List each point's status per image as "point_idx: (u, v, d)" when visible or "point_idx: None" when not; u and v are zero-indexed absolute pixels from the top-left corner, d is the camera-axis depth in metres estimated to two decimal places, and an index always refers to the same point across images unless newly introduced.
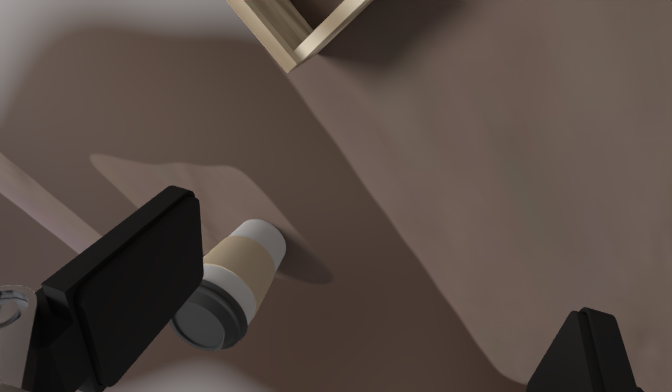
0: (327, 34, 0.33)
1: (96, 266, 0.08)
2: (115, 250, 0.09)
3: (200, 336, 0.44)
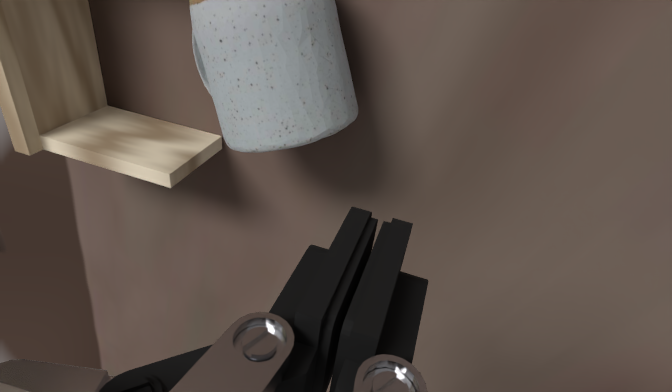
0: (81, 159, 0.28)
1: (333, 293, 0.08)
2: (340, 275, 0.09)
3: None
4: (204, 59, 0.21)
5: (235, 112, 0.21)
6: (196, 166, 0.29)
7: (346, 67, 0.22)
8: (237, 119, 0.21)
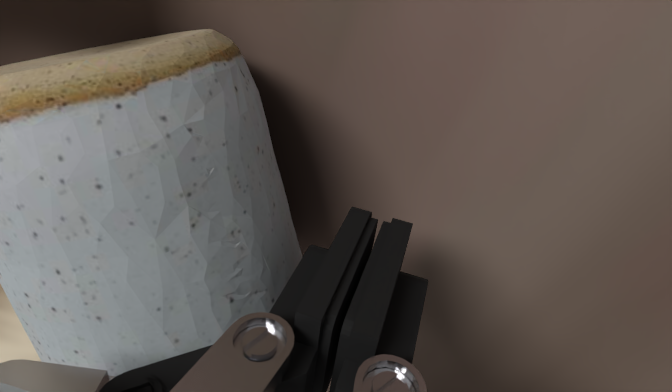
0: None
1: (333, 293, 0.08)
2: (340, 275, 0.09)
3: None
4: None
5: (36, 342, 0.10)
6: None
7: (280, 234, 0.11)
8: (42, 354, 0.10)
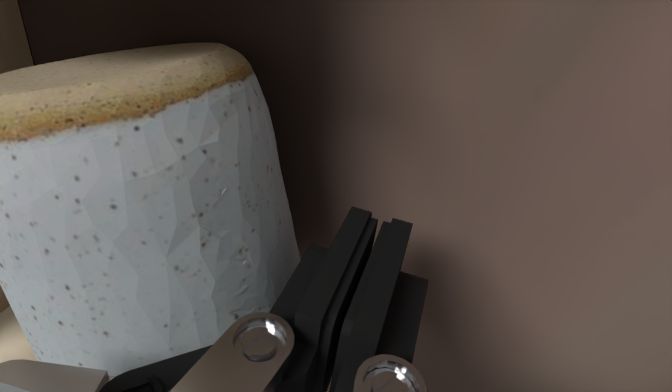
0: None
1: (333, 293, 0.08)
2: (340, 275, 0.09)
3: None
4: None
5: (39, 352, 0.10)
6: None
7: (285, 250, 0.12)
8: None
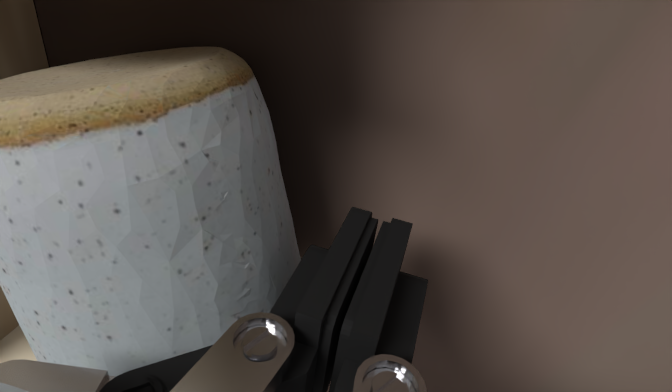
0: None
1: (334, 293, 0.08)
2: (340, 275, 0.09)
3: None
4: None
5: (42, 357, 0.10)
6: None
7: (286, 253, 0.12)
8: None
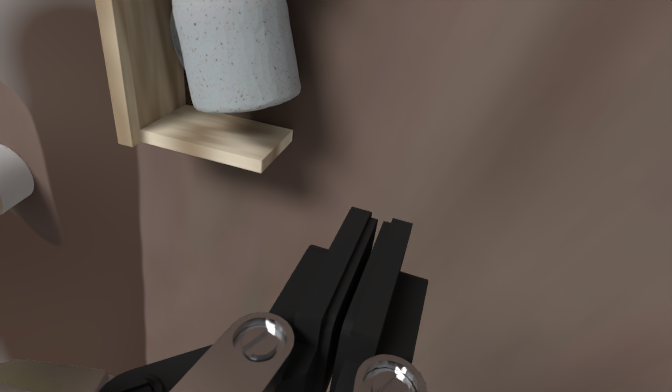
0: (178, 150, 0.32)
1: (333, 293, 0.08)
2: (340, 275, 0.09)
3: None
4: (180, 37, 0.27)
5: (202, 80, 0.27)
6: (276, 155, 0.33)
7: (292, 54, 0.29)
8: (203, 86, 0.27)
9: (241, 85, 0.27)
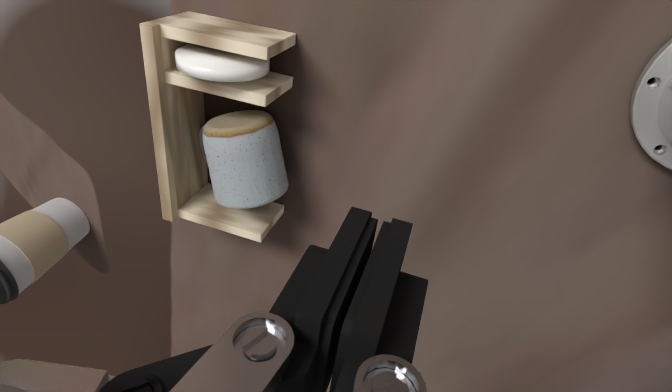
0: (203, 224, 0.47)
1: (333, 293, 0.08)
2: (340, 275, 0.09)
3: None
4: (208, 159, 0.41)
5: (222, 188, 0.41)
6: (271, 226, 0.47)
7: (281, 167, 0.43)
8: (222, 191, 0.42)
9: (247, 193, 0.41)
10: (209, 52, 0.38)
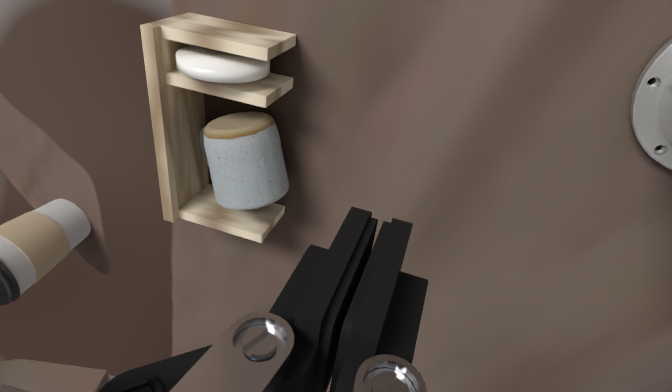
0: (204, 224, 0.47)
1: (333, 293, 0.08)
2: (340, 275, 0.09)
3: None
4: (209, 161, 0.42)
5: (223, 189, 0.42)
6: (272, 227, 0.48)
7: (282, 168, 0.43)
8: (223, 193, 0.42)
9: (248, 194, 0.41)
10: (209, 53, 0.38)
